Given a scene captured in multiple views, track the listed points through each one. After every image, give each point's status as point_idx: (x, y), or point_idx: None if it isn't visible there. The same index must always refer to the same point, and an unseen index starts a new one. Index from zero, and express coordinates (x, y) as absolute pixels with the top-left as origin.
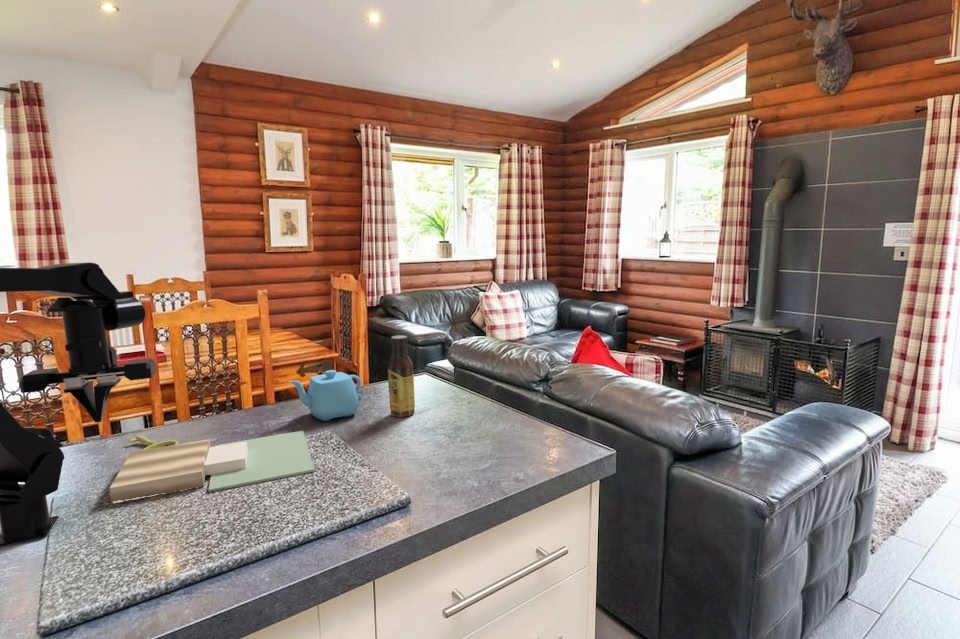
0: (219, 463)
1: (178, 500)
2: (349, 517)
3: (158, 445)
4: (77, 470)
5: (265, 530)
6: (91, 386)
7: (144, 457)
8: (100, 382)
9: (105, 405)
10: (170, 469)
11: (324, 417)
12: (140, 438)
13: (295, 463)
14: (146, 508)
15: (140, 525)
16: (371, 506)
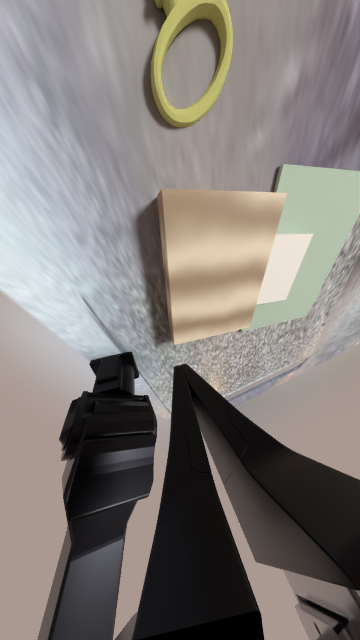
0: (265, 302)
1: (220, 337)
2: (283, 368)
3: (185, 22)
4: (16, 135)
5: (253, 374)
6: (230, 552)
7: (193, 249)
8: (295, 574)
9: (216, 394)
10: (226, 314)
11: None
12: None
13: (305, 300)
14: (199, 345)
15: (199, 365)
16: (294, 361)
